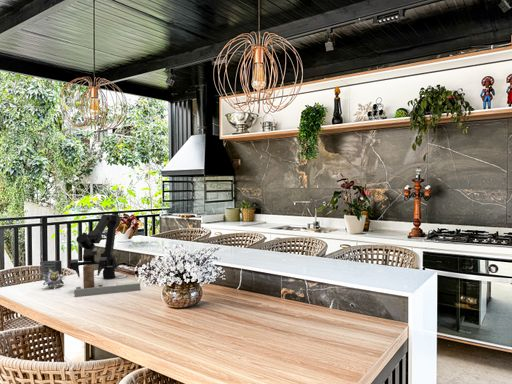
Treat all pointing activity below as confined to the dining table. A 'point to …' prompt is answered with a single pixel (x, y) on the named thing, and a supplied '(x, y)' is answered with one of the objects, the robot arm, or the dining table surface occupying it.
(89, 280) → the walnut block
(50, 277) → the passion flower
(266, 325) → the dining table surface
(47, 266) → the small box
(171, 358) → the dining table surface
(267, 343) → the dining table surface
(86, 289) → the tray
